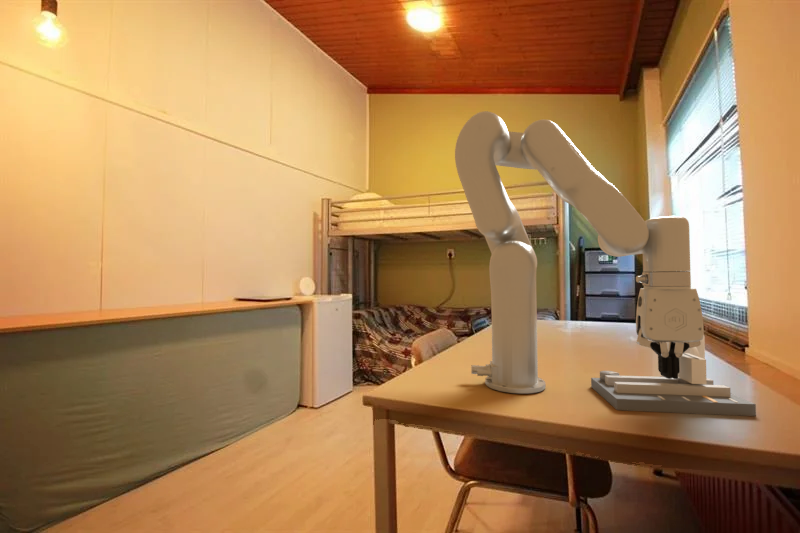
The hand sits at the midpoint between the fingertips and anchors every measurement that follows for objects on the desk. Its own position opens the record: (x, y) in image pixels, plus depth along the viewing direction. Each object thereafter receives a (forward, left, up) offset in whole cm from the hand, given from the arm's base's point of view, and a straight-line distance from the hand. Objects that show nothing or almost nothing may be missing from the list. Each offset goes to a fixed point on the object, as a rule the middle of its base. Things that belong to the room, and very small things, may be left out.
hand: (668, 376), depth 75 cm
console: (-1, 0, -5) cm, 5 cm away
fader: (+4, 0, -3) cm, 4 cm away
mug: (+10, +14, -5) cm, 18 cm away
